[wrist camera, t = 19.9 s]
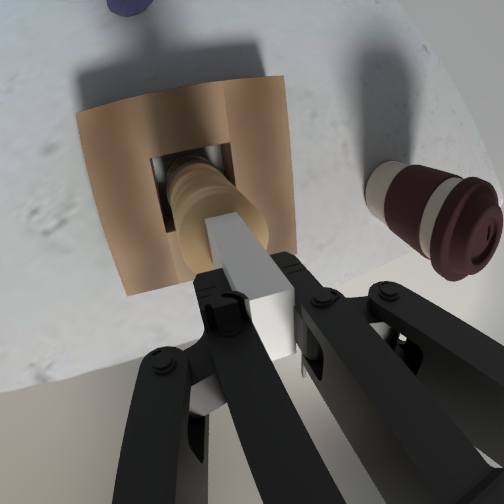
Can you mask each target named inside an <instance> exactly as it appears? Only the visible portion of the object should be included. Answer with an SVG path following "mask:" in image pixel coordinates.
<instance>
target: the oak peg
mask: <svg viewBox="0 0 504 504" xmlns="http://www.w3.org/2000/svg"><path fill="white" fill-rule="evenodd" d="M166 182H167V198H168V202H169V204H170V206H171V208H172V213H173V218H174V223H175V228H176V233H177V237H178V242H179V246H180V251H181V255H182V258H183V260H184V262H185V264H186V265H187V266H188V268H189V269H190V270H191V271H192V272H193V273H195V274H199V273H203V272H207V271H211V270H214V265H213V260H212V255H211V250H210V245H209V240H208V234H207V229H206V224H205V219H206V218H211V217H215V216H220V215H224V214H229V213H233V212H237V213H238V215H239V216H240V217H241V219H242V220H243V221H244V223H245V224H246V225H247V226H248V228H249V229H250V230H251V232H252V233H253V234H254V236H255V237H256V238H257V240H258V241H259V242H260V244H261V245H262V246H263V248H264V249H265V250H266V249H267V245H268V239H269V231H268V226H267V223H266V220H265V218H264V216H263V215H262V214H261V212H260V211H259V210H258V209H257V208H256V207H255V206H254V205H253V204H252V203H251V202H250V201H249V200H248V199H247V198H246V197H245V196H244V195H243V194H242V193H241V192H240V191H239V190H238V189H237V188H236V187H235V186H234V185H232V184H231V183H230V182H229V181H228V180H227V179H226V178H225V176H224V174H223V173H222V171H221V170H220V169H219V168H218V167H217V166H215V165H214V164H212V163H210V162H209V161H208V160H206V159H205V158H203V157H201V156H199V155H193V154H191V155H185V156H182V157H180V158H178V159H177V160H175V161H174V162H173V163H172V165H171V166H170V168H169V170H168V172H167V177H166Z"/></svg>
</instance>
